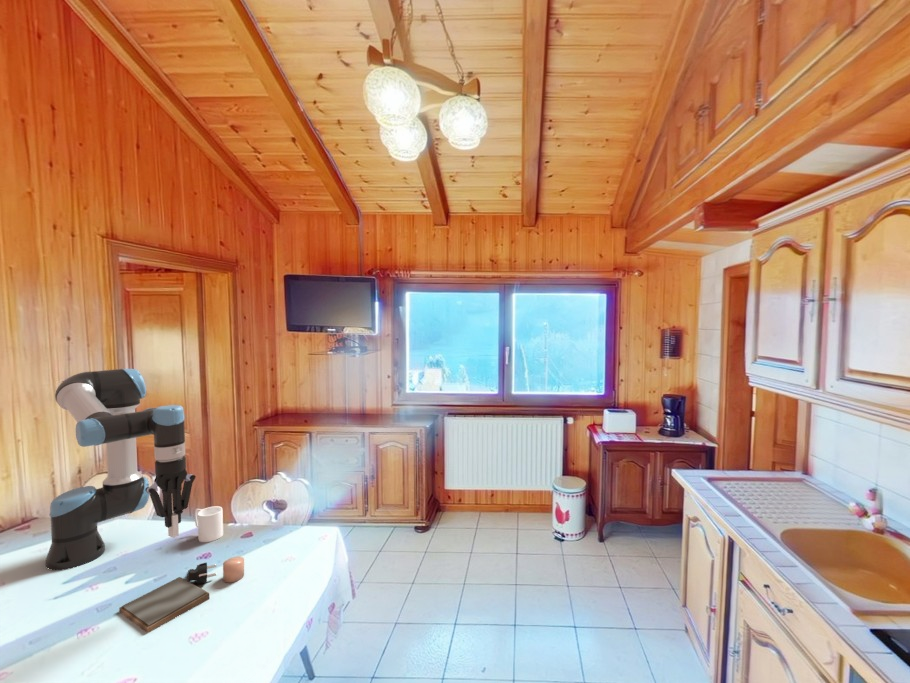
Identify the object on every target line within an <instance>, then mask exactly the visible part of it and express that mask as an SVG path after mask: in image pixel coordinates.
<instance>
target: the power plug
mask: <svg viewBox="0 0 910 683" xmlns="http://www.w3.org/2000/svg"><path fill="white" fill-rule="evenodd" d="M216 567H217V564H212V565H208V563H207V562H203V563H199V564H197V565H196V568H195V569H194V568H190V569H189V570H188V571H187V581H188V582H190V583H191V581H195V582H196V584H197V585H201V584H206V583H207V581H208V578H211V577H215V576H217V573H216V572H215V573H210V574H208V570H209V569H213V568H216Z"/></svg>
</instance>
